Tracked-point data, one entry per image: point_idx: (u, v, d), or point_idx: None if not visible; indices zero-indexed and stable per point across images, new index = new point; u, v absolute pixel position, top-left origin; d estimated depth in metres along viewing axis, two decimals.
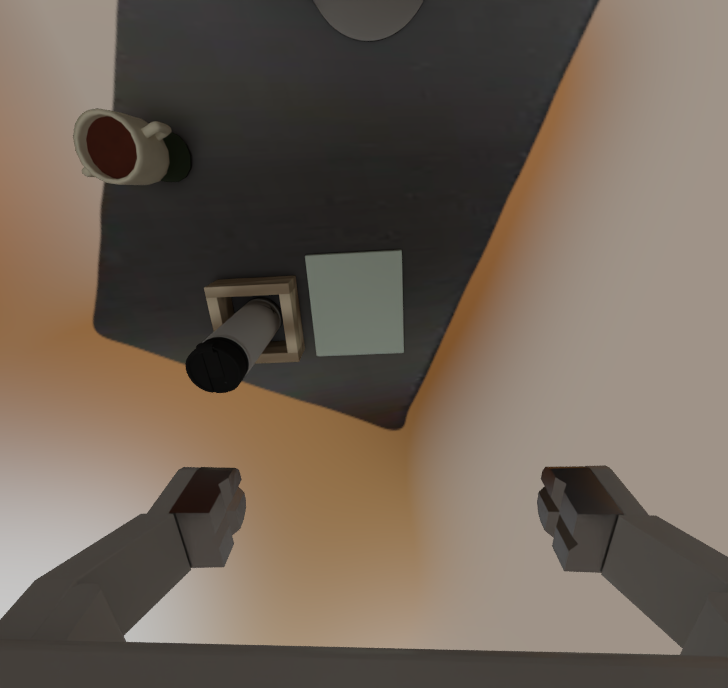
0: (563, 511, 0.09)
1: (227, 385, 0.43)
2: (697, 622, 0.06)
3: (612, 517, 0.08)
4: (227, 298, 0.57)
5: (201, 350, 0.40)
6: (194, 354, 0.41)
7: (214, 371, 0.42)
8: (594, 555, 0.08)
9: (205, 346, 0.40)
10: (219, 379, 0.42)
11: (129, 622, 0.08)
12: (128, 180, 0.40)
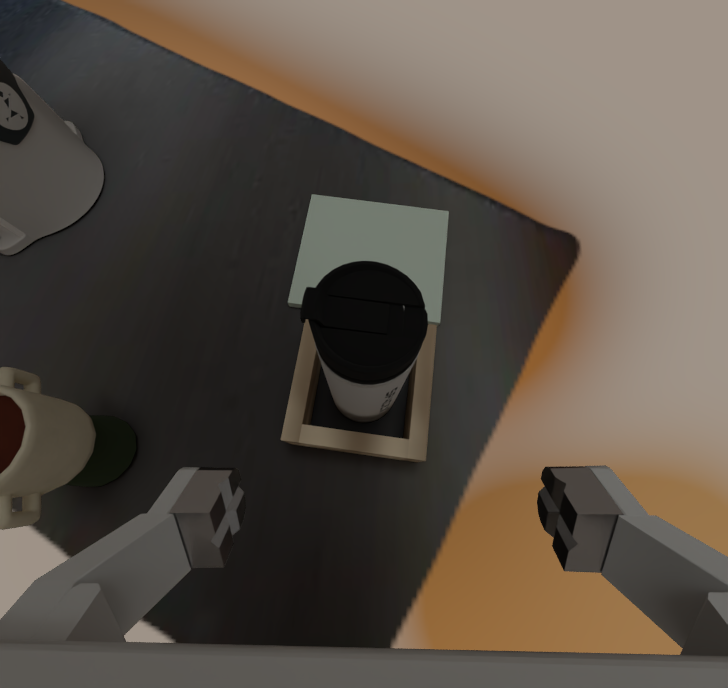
0: (563, 511, 0.09)
1: (410, 305, 0.20)
2: (697, 622, 0.06)
3: (612, 517, 0.08)
4: None
5: (311, 309, 0.18)
6: (322, 338, 0.19)
7: (372, 317, 0.19)
8: (594, 555, 0.08)
9: (305, 299, 0.19)
10: (394, 318, 0.20)
11: (129, 622, 0.08)
12: (31, 426, 0.23)
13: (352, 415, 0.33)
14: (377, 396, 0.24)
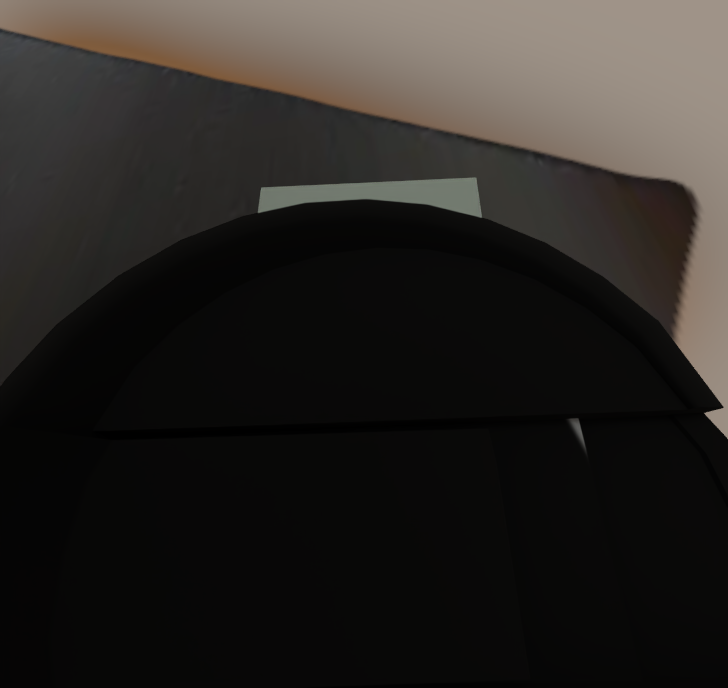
0: None
1: (621, 413, 0.03)
2: None
3: None
4: None
5: None
6: None
7: (404, 552, 0.03)
8: None
9: None
10: (540, 514, 0.03)
11: None
12: None
13: None
14: None
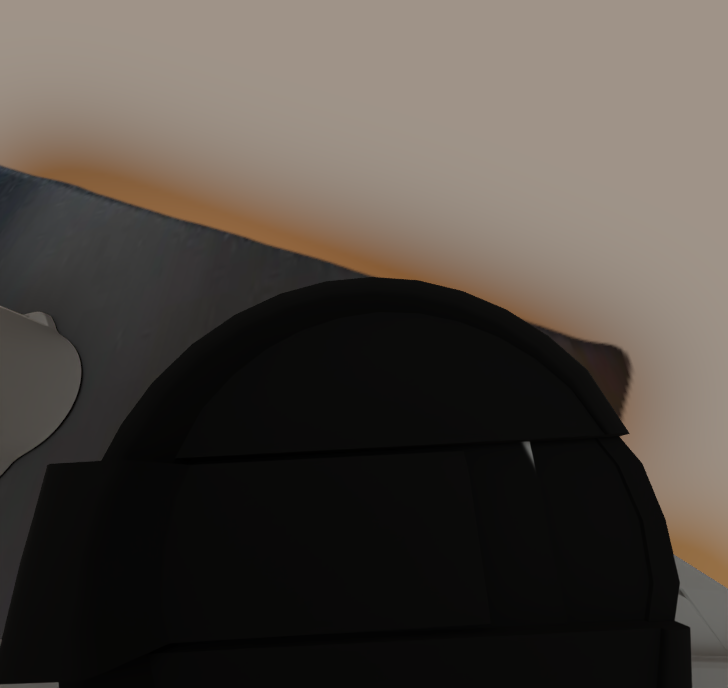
0: None
1: (559, 438, 0.04)
2: None
3: None
4: None
5: (54, 612, 0.03)
6: None
7: (405, 541, 0.04)
8: None
9: (30, 543, 0.03)
10: (500, 511, 0.04)
11: None
12: None
13: None
14: None
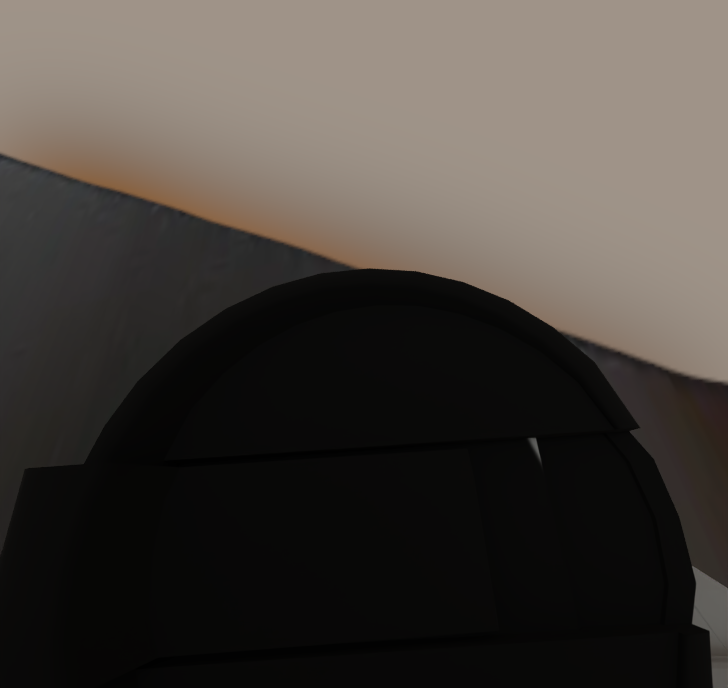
0: None
1: (567, 434, 0.04)
2: None
3: None
4: None
5: (30, 628, 0.03)
6: None
7: (407, 543, 0.04)
8: None
9: (5, 554, 0.03)
10: (506, 512, 0.04)
11: None
12: None
13: None
14: None
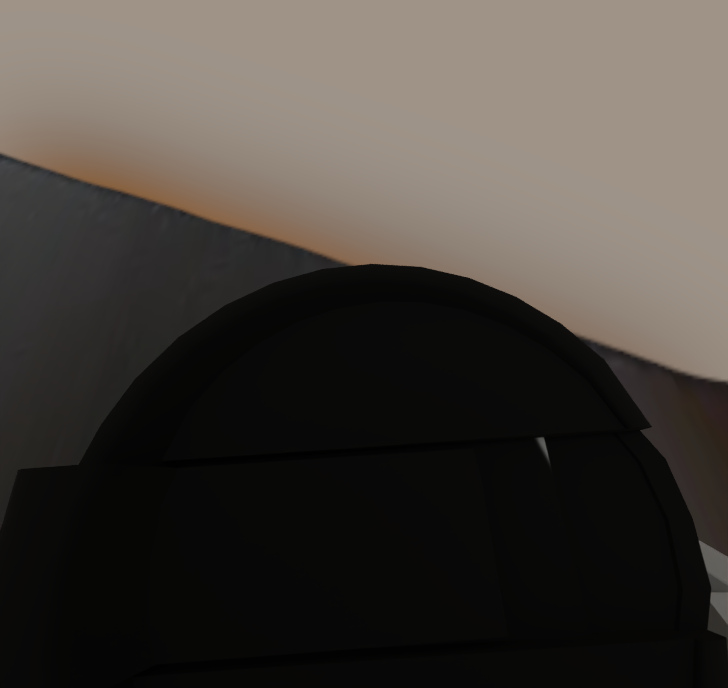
0: None
1: (576, 433, 0.04)
2: None
3: None
4: None
5: (22, 635, 0.03)
6: None
7: (412, 547, 0.04)
8: None
9: None
10: (515, 513, 0.04)
11: None
12: None
13: None
14: None
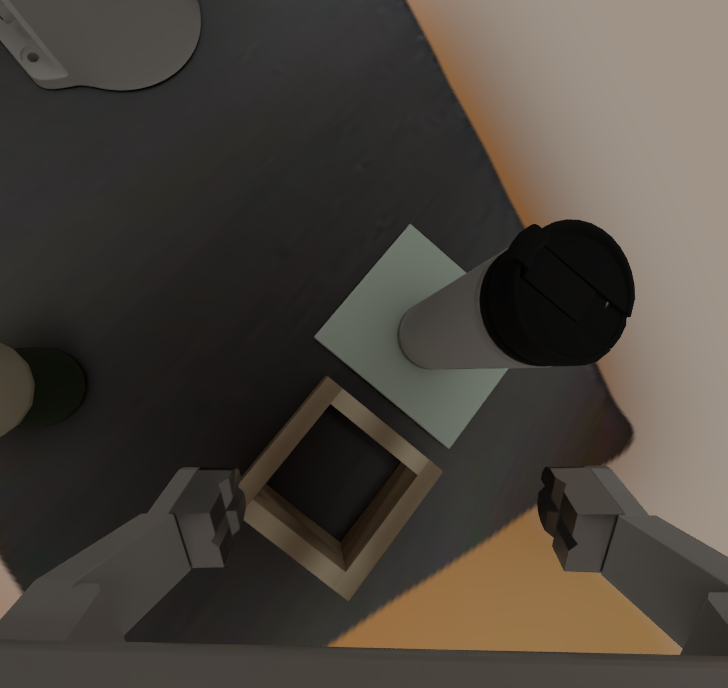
0: (563, 511, 0.09)
1: (616, 306, 0.16)
2: (697, 622, 0.06)
3: (612, 517, 0.08)
4: (269, 493, 0.31)
5: (529, 253, 0.15)
6: None
7: (573, 297, 0.16)
8: (594, 555, 0.08)
9: (527, 237, 0.15)
10: (591, 309, 0.16)
11: (129, 622, 0.08)
12: None
13: (417, 355, 0.31)
14: (488, 365, 0.21)
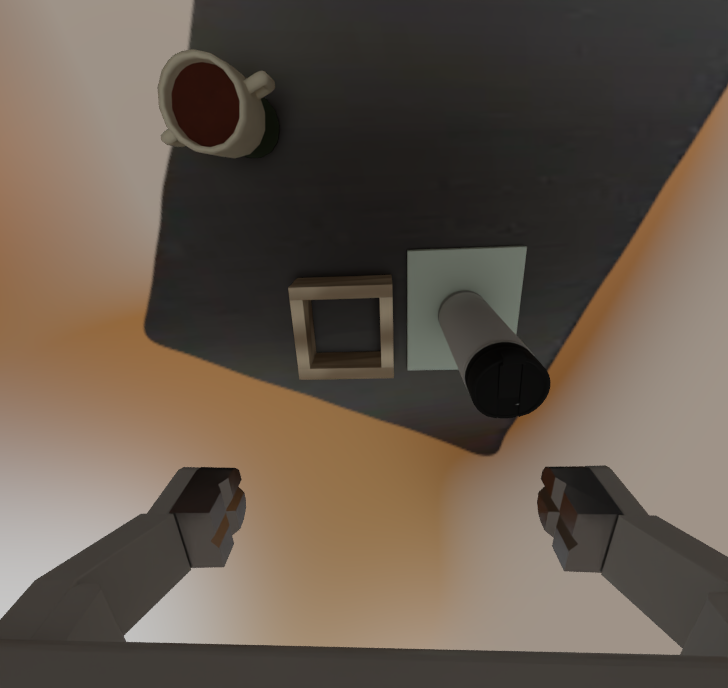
0: (563, 511, 0.09)
1: (519, 408, 0.31)
2: (697, 622, 0.06)
3: (612, 517, 0.08)
4: (308, 300, 0.48)
5: (509, 362, 0.28)
6: (490, 367, 0.29)
7: (508, 390, 0.30)
8: (594, 555, 0.08)
9: (516, 356, 0.28)
10: (509, 400, 0.31)
11: (129, 622, 0.08)
12: (225, 148, 0.31)
13: (442, 320, 0.44)
14: None
